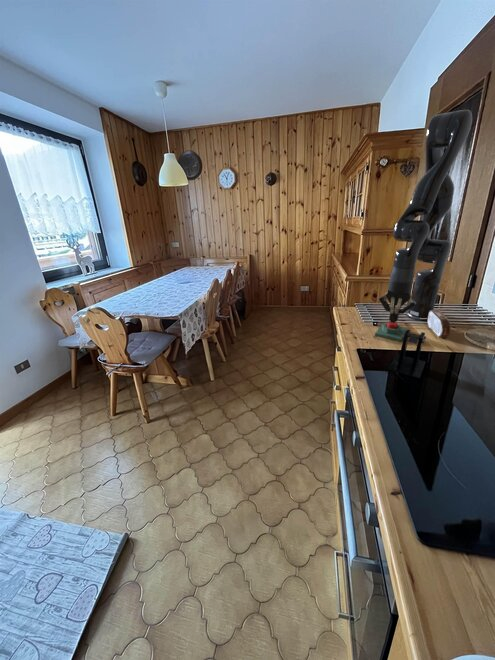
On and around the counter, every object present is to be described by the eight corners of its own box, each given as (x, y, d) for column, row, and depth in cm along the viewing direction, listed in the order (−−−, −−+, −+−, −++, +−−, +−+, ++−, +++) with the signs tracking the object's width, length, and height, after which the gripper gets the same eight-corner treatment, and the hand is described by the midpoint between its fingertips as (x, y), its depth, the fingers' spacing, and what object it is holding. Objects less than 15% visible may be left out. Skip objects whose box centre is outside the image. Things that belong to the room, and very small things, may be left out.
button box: (382, 327, 119) (383, 318, 117) (405, 332, 114) (407, 323, 112) (374, 337, 112) (376, 328, 110) (399, 343, 106) (401, 334, 105)
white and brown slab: (447, 342, 106) (453, 321, 102) (438, 341, 106) (444, 321, 103) (432, 324, 119) (437, 306, 115) (424, 324, 119) (428, 306, 116)
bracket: (395, 356, 99) (402, 323, 93) (425, 364, 94) (434, 330, 88) (387, 371, 91) (394, 337, 86) (418, 381, 86) (428, 344, 81)
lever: (408, 338, 99) (410, 331, 98) (424, 342, 96) (426, 335, 96) (403, 340, 88) (405, 333, 88) (421, 344, 85) (423, 337, 85)
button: (388, 324, 114) (388, 320, 113) (398, 326, 111) (398, 322, 111) (385, 327, 111) (386, 323, 110) (395, 330, 109) (396, 326, 108)
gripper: (424, 278, 101) (413, 322, 109) (384, 273, 109) (377, 315, 116) (420, 284, 96) (409, 329, 104) (379, 278, 104) (372, 321, 111)
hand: (392, 321), depth 110 cm, fingers closed
